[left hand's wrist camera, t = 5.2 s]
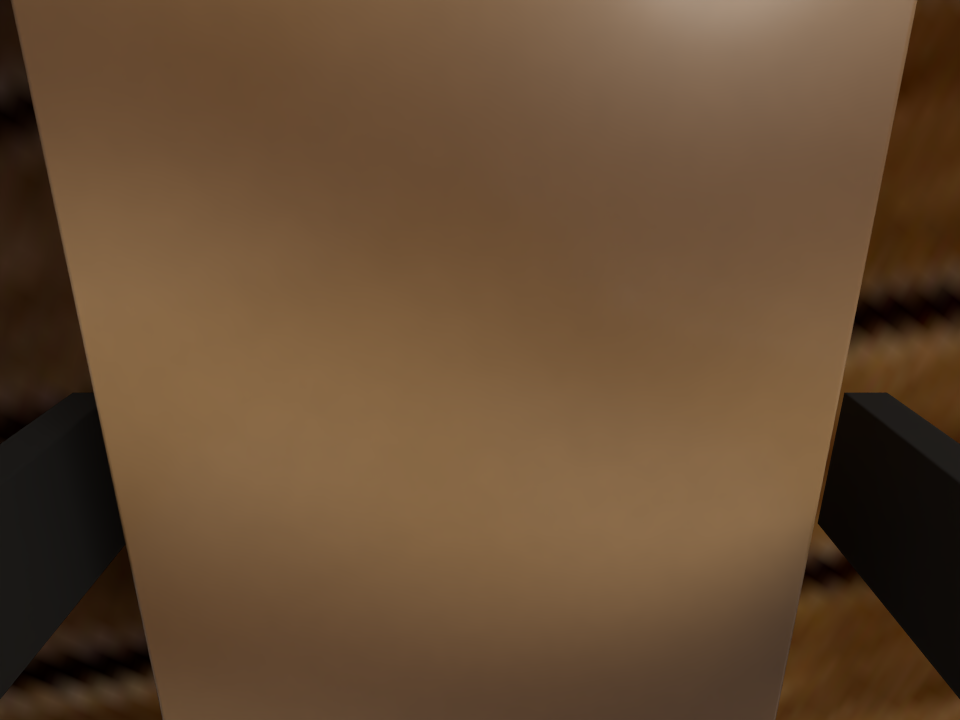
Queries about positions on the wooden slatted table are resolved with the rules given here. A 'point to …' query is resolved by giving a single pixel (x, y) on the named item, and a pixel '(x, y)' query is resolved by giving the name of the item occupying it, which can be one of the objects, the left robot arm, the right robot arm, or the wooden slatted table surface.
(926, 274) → the wooden slatted table surface
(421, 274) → the cabinet
